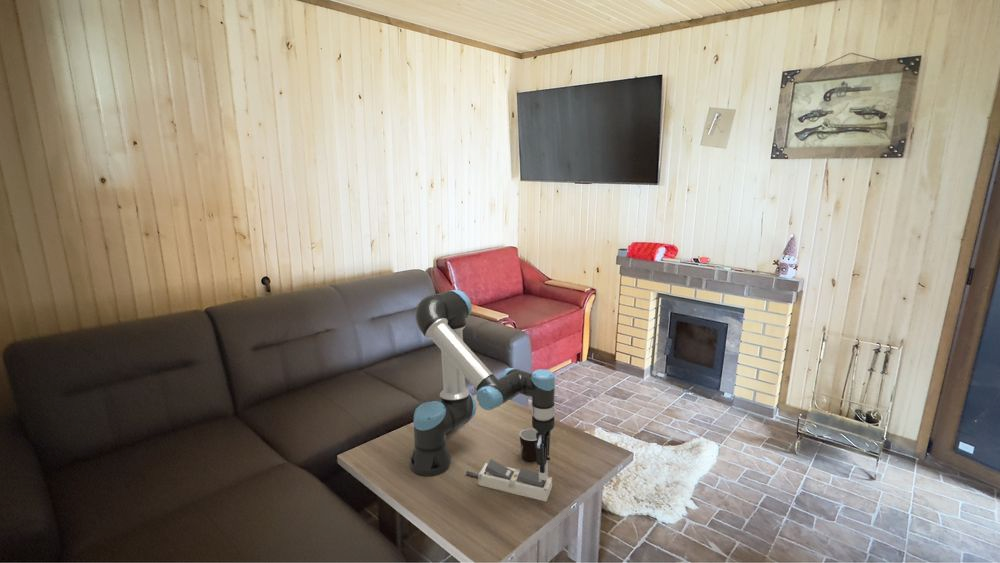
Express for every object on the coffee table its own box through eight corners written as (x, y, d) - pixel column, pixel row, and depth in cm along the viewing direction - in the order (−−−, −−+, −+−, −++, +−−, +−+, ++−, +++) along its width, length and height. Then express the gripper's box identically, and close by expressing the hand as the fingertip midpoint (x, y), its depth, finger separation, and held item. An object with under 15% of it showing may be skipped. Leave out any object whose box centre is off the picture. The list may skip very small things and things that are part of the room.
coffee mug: (539, 465, 179) (540, 441, 177) (517, 462, 181) (517, 439, 178) (543, 448, 190) (543, 426, 188) (522, 445, 192) (522, 423, 189)
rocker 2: (516, 480, 163) (517, 475, 163) (520, 472, 168) (521, 467, 167) (541, 489, 161) (542, 484, 160) (545, 481, 165) (546, 476, 164)
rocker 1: (484, 470, 167) (486, 466, 166) (489, 463, 171) (491, 458, 171) (507, 483, 165) (509, 478, 164) (511, 475, 169) (513, 470, 169)
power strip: (462, 481, 169) (462, 469, 168) (471, 468, 177) (471, 456, 176) (546, 501, 159) (546, 489, 158) (552, 487, 167) (552, 475, 165)
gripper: (549, 427, 150) (549, 492, 155) (558, 408, 162) (558, 469, 167) (526, 423, 153) (527, 488, 157) (537, 405, 165) (537, 465, 170)
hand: (543, 478), depth 162 cm, fingers closed
